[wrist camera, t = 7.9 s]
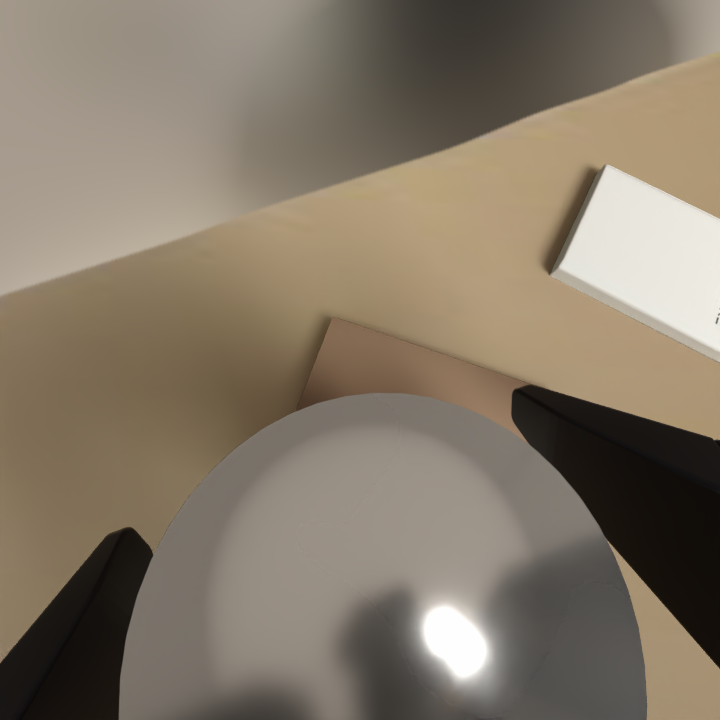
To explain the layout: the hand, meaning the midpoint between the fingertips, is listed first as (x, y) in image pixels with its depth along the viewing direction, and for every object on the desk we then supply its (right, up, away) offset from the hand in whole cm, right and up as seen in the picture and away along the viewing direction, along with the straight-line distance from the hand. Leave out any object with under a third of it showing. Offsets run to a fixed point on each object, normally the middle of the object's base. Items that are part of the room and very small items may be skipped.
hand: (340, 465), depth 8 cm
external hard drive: (+18, +7, +13) cm, 24 cm away
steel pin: (0, -3, +7) cm, 8 cm away
